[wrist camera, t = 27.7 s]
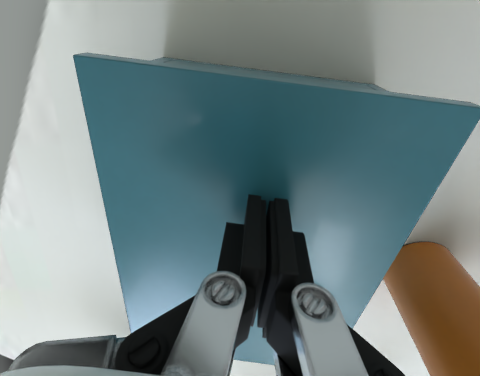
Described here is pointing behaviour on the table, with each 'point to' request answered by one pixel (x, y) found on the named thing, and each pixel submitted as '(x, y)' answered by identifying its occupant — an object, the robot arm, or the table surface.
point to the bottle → (438, 307)
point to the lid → (258, 174)
